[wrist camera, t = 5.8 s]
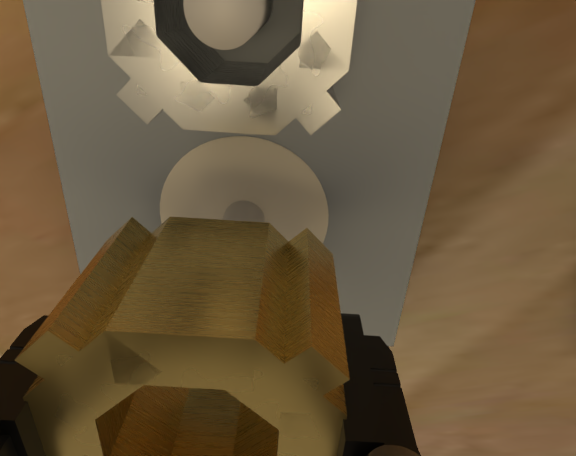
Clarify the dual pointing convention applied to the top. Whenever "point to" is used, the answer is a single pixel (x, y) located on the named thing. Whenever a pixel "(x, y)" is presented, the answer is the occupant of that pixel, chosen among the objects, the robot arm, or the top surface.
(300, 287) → the brass gear
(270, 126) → the steel gear
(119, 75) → the pegboard
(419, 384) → the top surface
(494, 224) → the top surface
